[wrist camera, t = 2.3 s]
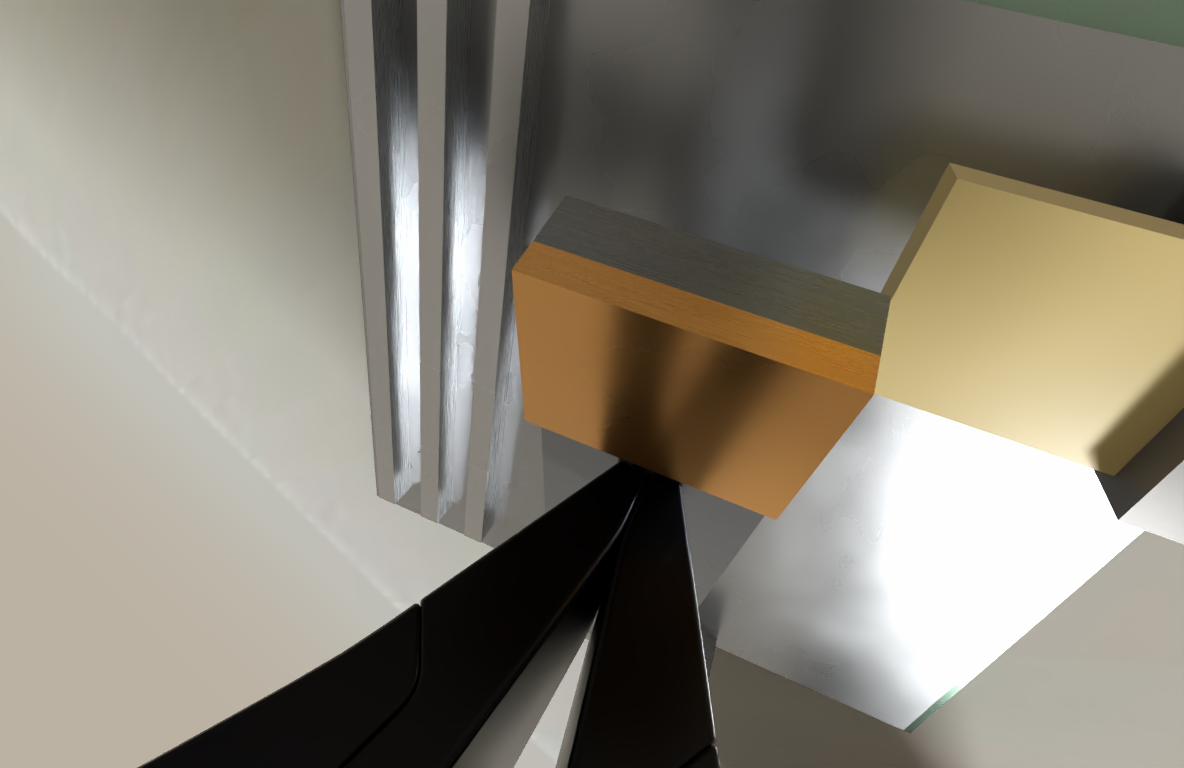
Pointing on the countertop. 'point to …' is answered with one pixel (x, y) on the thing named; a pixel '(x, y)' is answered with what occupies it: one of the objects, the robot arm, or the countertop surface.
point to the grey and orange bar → (687, 368)
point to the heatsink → (767, 228)
